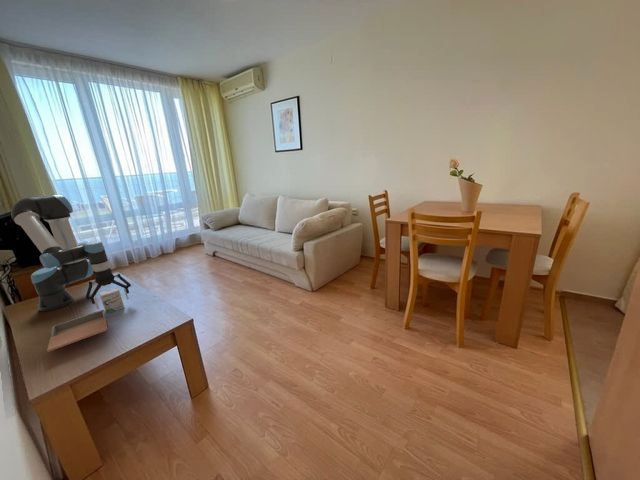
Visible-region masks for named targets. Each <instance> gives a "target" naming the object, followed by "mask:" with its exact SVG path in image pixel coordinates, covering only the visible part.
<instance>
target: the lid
mask: <svg viewBox="0 0 640 480" xmlns="http://www.w3.org/2000/svg"><path fill="white" fill-rule="evenodd" d="M107 331H108V327H107V324H106V319H103V320H100V321H97V322H94V323H92V324H89V325H86V326H83V327H80V328H77V329H74V330H71V331H68V332H65V333H62V334H59V335H57V336H54V337H51V336H50V337H49V340H48V346H47V348H46V349H47V350H46V351H47V353H49V352H52V351H54V350H56V349H60V348H63V347H65V346H68V345H71V344H73V343H76V342H79V341H81V340H84V339H86V338H87V339H88V338H90V337H93V336H95V335H97V334H101V333H103V332H104V333H105V332H107Z"/></svg>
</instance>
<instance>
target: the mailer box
mask: <svg viewBox="0 0 640 480" xmlns="http://www.w3.org/2000/svg"><path fill="white" fill-rule="evenodd" d="M103 319H106V324H107V328H108V327H109V324H108V320H107V315H106V311H105V309H101V310H98V311H95V312H92V313H88V314H85V315H82V316H79V317H76V318H73V319H70V320H66V321H64V322H61V323H58V324H55V325H52V328H51V334H50V338H51V337H54V336H57V335H59V334H62V333H65V332H68V331H71V330H74V329H77V328H80V327H83V326H86V325H89V324H92V323H94V322H97V321H100V320H103Z"/></svg>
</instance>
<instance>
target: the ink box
mask: <svg viewBox="0 0 640 480" xmlns="http://www.w3.org/2000/svg"><path fill="white" fill-rule="evenodd" d="M99 297H100V299H101V302H102V306H103V308H104V312H105V314H110V313H113V312H116V311H119V310H120V311H121V310H122V309H123V310H124V309H125V304H124V302H123V299H122V295H121V293H120V290H119V287H115V288H111V289H107V290H105V291H101V292H99Z"/></svg>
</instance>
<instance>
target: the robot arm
mask: <svg viewBox="0 0 640 480" xmlns="http://www.w3.org/2000/svg"><path fill="white" fill-rule="evenodd" d="M73 210H74V209H73V206H72V204H71V203H70V201H69V199H68V198H66V196H64V195H62V194H49V195H43V196H42V195H40V196H33V197H30V196H29V197H23V198H21V199H20V200H18V201H16V202H15V203H14V204H13V205H12V207H11V210H10V216H11V219H12V220H13V222H14V223H15V224H16V225H18V226H20V227H21V228H22V230H23V232H25V234H27V236H28V237H29V239H30V240H31V241H32V243H33V244H34V245H35V246H36V248H37V250H39V252H40V253H41V254H40V256H39V261H40V263H41V264H42V268H40V269H37V270H36V271H34V272H33V273H31V275H30V279H31V284H33V286H34V288H35V291H36V293H37V296H38V307H37V308H38V310H39V311H41V312H49V311H55V310H58V309H61V308H64V307H66V306H68V305H70V304H72V303H73V302H74V301H75V298H74V297H73V295H72V293H71V292H69V291H68V290H67V289H66V285H70V284H72V283H73V284H74V283H76V282H78V281H81V280H85V279H87V278H90V277H92V275H93V276H94V280H91V279H90V280H88V288H87V290H86V295H85V300H91V303H92V304H93V305H95V307H96V309H97V310H100V307H99V304H98V301H97V298H96V295H97V293H98V292H99V290H100V289H101V287H105V286H107V285H111V284H115V285H117V286H118V287H121V288H122V289H123V291H124V294H125V297H126V300H129V296H128V294H130V291H129V288H131V287H132V284H131V283H130V282H128V280H126V279H125V278H124V277H123V276H122V275H121V273H120V272H118V273H116V274H113V271H112V268H111V264H110V262H109V259H108V256H107V252H106V250H105V246H104V245H103V244H104V243H103V242H102V241H100V240H97V241H90V242H87V243H79V244H78V243H77V240H76V238H75V235H74V231H73V229H72V226H71V224H70V221H69V219H70V218H71V214H72V213H74V211H73ZM40 219H43V221H45V222H47V223H48V224H49V227H50V230H51V232H52V234H53V235H52V234H51V233H50V232H49V230H48V228H46V225H44V224H43V222H42V221H41V220H40ZM115 278H116V279H119V280H120V281H117V280H115ZM121 282H123V283H121ZM94 284H97V285H96V287H95V288H94V290H93V291H92V288H93V285H94ZM91 291H92V293H91Z"/></svg>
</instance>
